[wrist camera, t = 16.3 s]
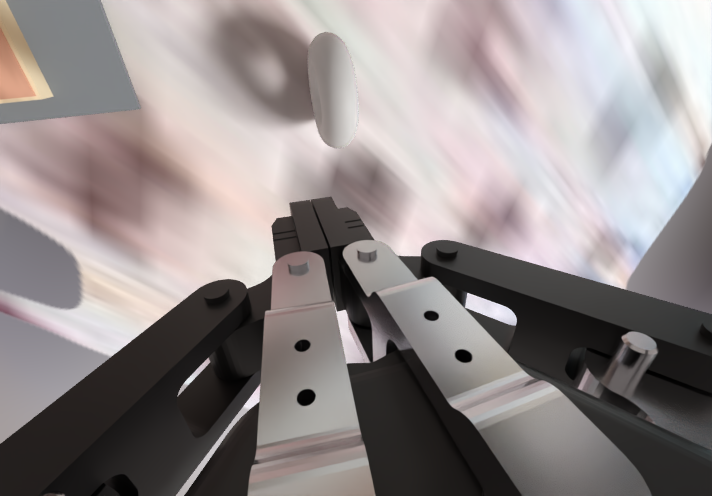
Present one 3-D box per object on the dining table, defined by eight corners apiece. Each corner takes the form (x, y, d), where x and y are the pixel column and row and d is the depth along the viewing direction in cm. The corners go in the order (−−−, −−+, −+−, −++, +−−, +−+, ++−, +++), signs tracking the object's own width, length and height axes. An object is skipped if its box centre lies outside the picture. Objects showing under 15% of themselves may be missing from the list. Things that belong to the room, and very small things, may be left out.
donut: (298, 35, 33) (315, 31, 25) (332, 32, 34) (359, 27, 26) (313, 138, 39) (331, 163, 30) (342, 134, 39) (367, 157, 31)
